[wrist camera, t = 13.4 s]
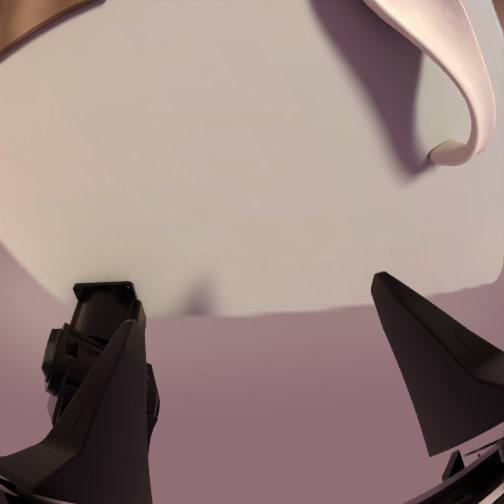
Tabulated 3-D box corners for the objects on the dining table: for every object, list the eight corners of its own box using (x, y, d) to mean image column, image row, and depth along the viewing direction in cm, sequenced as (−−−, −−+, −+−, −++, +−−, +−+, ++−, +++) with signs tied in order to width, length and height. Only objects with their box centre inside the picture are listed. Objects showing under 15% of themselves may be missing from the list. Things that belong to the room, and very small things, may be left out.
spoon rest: (293, -57, 9) (332, -96, 3) (393, -62, 7) (442, -77, 1) (405, 174, 22) (456, 208, 17) (471, 133, 20) (518, 156, 15)
